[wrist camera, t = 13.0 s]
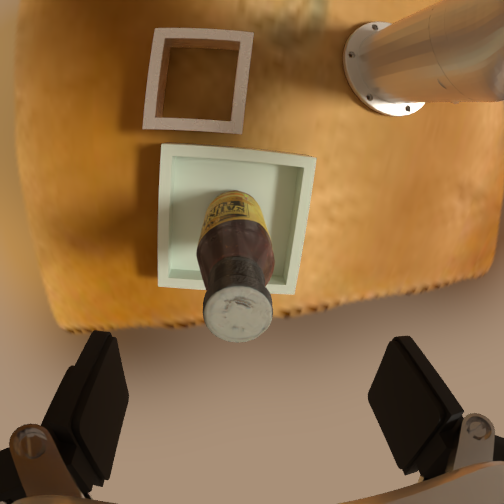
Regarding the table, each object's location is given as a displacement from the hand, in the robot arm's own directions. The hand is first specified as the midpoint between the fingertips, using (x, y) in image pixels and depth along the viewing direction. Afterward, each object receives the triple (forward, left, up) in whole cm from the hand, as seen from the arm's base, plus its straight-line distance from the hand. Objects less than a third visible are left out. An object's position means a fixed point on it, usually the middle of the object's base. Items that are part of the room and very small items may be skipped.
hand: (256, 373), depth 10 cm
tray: (0, +2, -28) cm, 28 cm away
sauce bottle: (0, +2, -28) cm, 28 cm away
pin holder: (+5, -13, -28) cm, 31 cm away
